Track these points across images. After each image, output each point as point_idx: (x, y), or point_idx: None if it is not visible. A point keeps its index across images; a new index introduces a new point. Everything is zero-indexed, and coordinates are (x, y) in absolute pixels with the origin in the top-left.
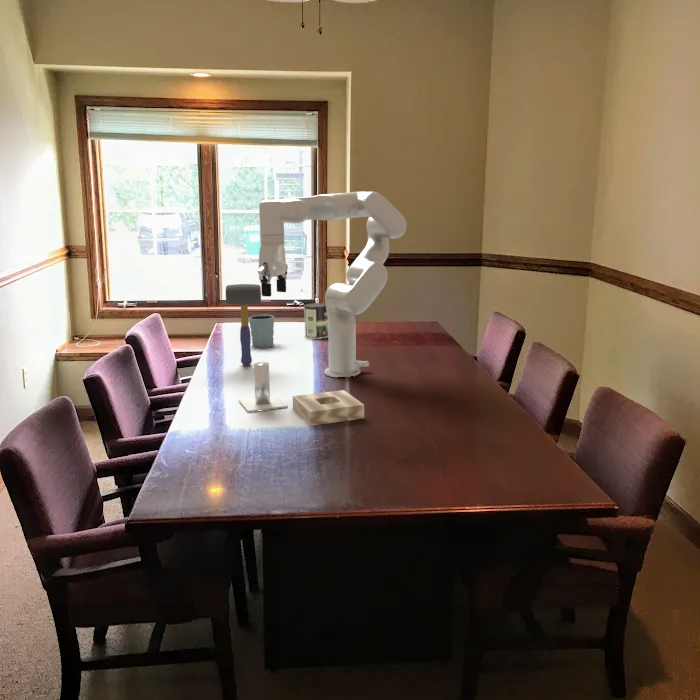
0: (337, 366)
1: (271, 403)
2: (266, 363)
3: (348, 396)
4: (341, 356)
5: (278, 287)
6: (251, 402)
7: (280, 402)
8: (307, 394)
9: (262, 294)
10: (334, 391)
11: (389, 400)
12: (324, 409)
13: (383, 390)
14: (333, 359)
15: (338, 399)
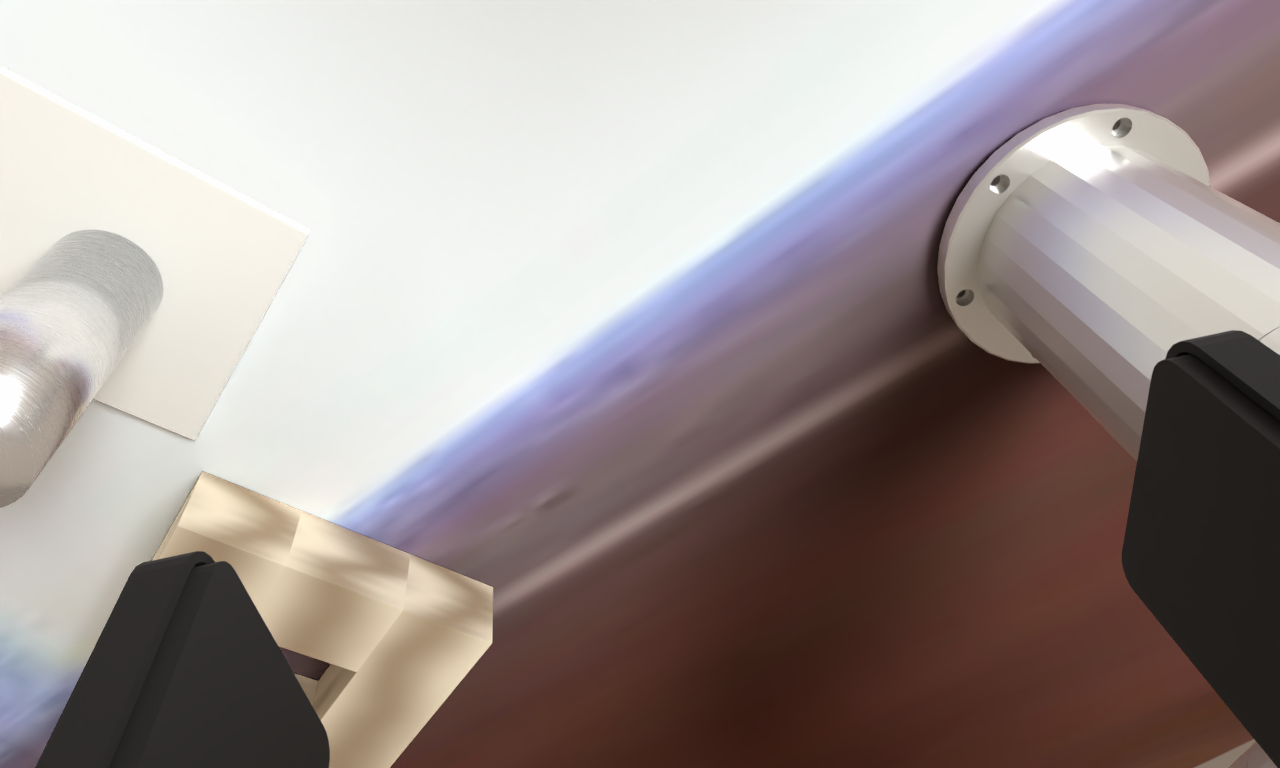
0: (1002, 298)
1: (143, 336)
2: (7, 478)
3: (408, 716)
4: (1047, 365)
5: (1243, 487)
6: (38, 210)
7: (206, 367)
8: (275, 564)
9: (141, 605)
10: (435, 627)
11: (658, 697)
12: None
13: (799, 604)
14: (1034, 289)
15: (329, 713)
